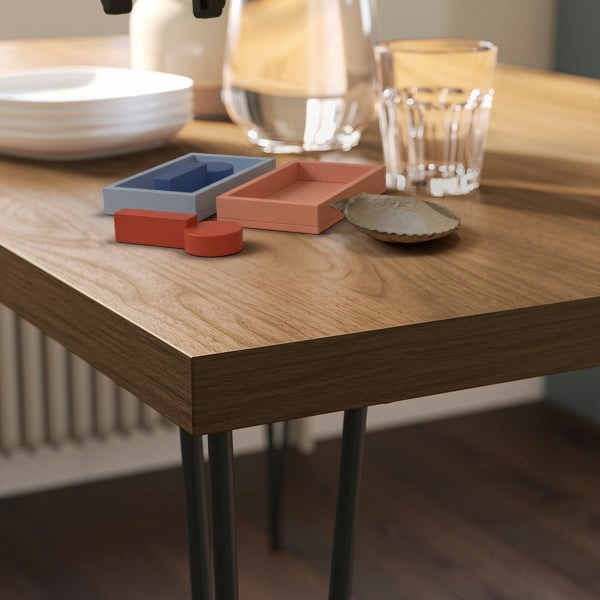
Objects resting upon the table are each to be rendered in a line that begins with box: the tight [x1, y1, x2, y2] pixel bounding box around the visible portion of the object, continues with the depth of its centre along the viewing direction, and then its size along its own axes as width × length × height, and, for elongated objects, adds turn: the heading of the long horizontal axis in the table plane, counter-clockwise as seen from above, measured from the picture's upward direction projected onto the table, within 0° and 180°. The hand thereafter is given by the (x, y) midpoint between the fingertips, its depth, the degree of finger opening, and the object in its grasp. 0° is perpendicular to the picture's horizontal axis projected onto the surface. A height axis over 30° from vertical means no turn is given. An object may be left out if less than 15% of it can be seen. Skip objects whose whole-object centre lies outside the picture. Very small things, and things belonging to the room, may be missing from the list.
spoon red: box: [113, 208, 244, 258], centre depth 77 cm, size 9×4×2 cm, turn 66°
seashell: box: [329, 192, 461, 245], centre depth 77 cm, size 8×3×8 cm
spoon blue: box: [154, 162, 234, 193], centre depth 89 cm, size 9×4×2 cm, turn 156°
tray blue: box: [102, 152, 277, 222], centre depth 90 cm, size 13×8×2 cm, turn 156°
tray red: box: [216, 159, 387, 235], centre depth 86 cm, size 13×8×2 cm, turn 156°
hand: (161, 15), depth 81 cm, fingers open, 8 cm apart
